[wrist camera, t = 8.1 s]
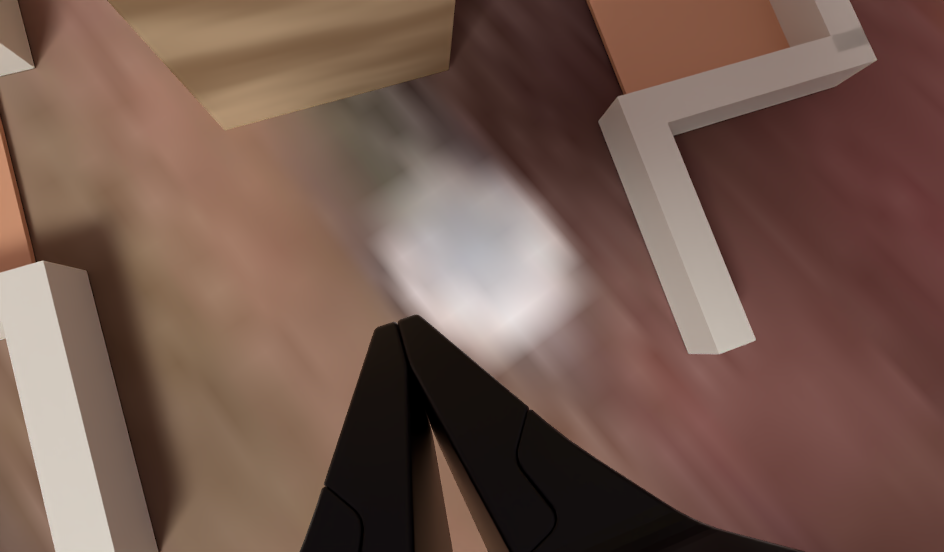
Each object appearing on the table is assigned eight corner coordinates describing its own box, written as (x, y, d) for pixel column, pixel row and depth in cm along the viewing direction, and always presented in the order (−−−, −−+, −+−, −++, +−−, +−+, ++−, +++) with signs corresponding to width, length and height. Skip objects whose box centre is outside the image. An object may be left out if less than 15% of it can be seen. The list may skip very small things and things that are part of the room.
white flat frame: (916, 267, 21) (999, 253, 18) (-222, 697, 15) (-386, 786, 12) (645, -334, 24) (677, -430, 21) (-369, -186, 18) (-524, -291, 15)
